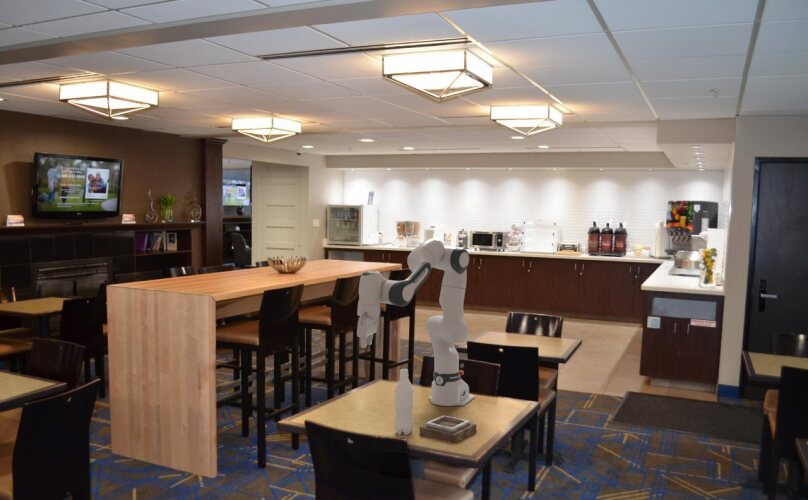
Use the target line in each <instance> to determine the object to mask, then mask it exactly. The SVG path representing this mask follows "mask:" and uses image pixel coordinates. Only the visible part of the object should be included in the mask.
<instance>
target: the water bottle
mask: <svg viewBox="0 0 808 500" xmlns="http://www.w3.org/2000/svg"><path fill="white" fill-rule="evenodd" d="M394 389H395V390H394V397H395V399H394V401H395V403H394V407H395V421H394V428H395V430H396V433H397V434H398V435H402V434H403V435H405V436H408V435H410V434H412V432H413V429H414V419H413V408H414V388H413V385H412V383H411V381H410V379H409V369H408V368H401V369H400V370H399V380H398V382H397V384H396V386H395V388H394Z"/></svg>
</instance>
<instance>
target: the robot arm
mask: <svg viewBox="0 0 808 500" xmlns="http://www.w3.org/2000/svg"><path fill="white" fill-rule="evenodd" d="M470 258H471V257H470V254H469V252H468V251H467V249H465V248H463V247H460V246H454V245H445V244H444V243H443V242H442V241H441V239H438V238H436V237H435V238H434V237H431V238H429V239H427V240H425V241H423V242H422V243H421V244H419V245H418V246H416V247H415V248H414V249H413V250H412V251H411V252H410V253H409V254H408V256H407V260H406V261H407V265H408V268H409V271H410V272H411V274H410V275H409V276H408V277H407V278H406V279H404V280H394V279H393V280H392V279H388V278H386V277H384V276H383V275H382V274H381V272H380V271H378V270H367V271H365V272H362V274H361V275H360V279H359V285H358V295H359V296H358V297H359V298H358V302H357V311H356V314H357V316H359V317H358V320H357V329H356V337H358V338H360V348H361V349H366V348H367V346H371V345H372V343H373V338H374V334H375V333H377V332H378V328H379V327H378V326H379V318H380V316H381V303H382V304H386V305H387V304H388V305H393V306H398V307H401V308H402V307H406V306H407V305H409V304H410V303H411V302H412V300H413V297H414V295H416V292H418V290H419V289H420V288H421V287H422V286H423V283H425V281H426V280H427V279H428V278H429V276H430V274H431V273H432V269H437V270H441V271H444V274H443V276H442V277H443V278H442V282H441V288H440V294H439V302H438V303H439V305H440V306H441V309H442V315H441V314H440V315H433V316H430V317H428V318H427V320H426V321H425V325H424V326H425V327H424V328H425V332H426V334H427V335H428V336H429V339H430V342H431V346H432V349H433V356H434V364H433V365H434V369H433V375H432V376H433V381H432V382H431V387H430V389H431V390H430V395H429V396H428V399H429V401H430V403H431V404H433V405H436V406H442V407H444V406H445V407H453V406H455V407H456V406H465V405H467V404H468V403H469V402H470V401H472V400H473V399H474V398H475V395H474V394H472V393H470V387H469V385H468V384H467V383H466V382H465V381H464V380H463V379H462V376H463V375H464V370H461V369H459V367H460V366H459V363H460V361H459V360H460V355H459V352H458V351H457V349H456V347H455V345H454V344H462V343H464V342H466V341H467V339H468V338H469V336H470V327H469V326H468V324H467V322H466V319H465V313H464V301H465V296H466V295H465V294H466V289H467V281H468V280H467V279H468V278H467V277H468V276H467V268H468V266H469V264H470V262H471V261H470V260H471V259H470Z"/></svg>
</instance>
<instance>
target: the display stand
mask: <svg viewBox="0 0 808 500" xmlns="http://www.w3.org/2000/svg"><path fill="white" fill-rule="evenodd" d="M475 433H477V423H473V422H471V420H468V419H465V418H464V419H463V418H458V417H453V416H449V415H445V414H444V415H441V416H438V417H437V418H434V419H432V420H429V421H428V422H425V424H423V425H421V426H419V435H420V436H423V435H424V437H427V436H428V437H427V438H431V439H436V440H441V441H444V440H445V442H448V441H450V442H449V443H452V442H453V443H452V444H456V443H457V441H458V442H459V440H460V441H462V440H463V439H465V438H467V437H469V436H471V435H473V434H475ZM461 439H462V440H461ZM455 442H456V443H455Z"/></svg>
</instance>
